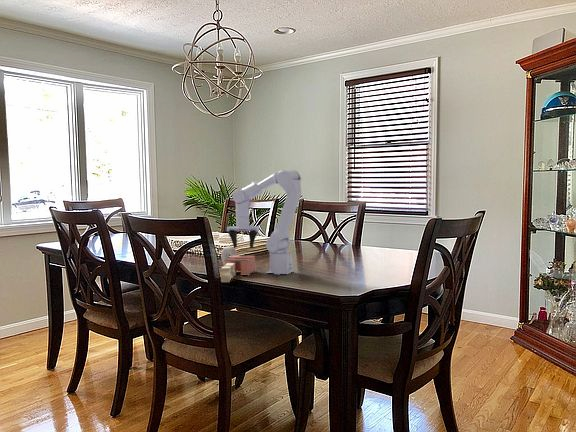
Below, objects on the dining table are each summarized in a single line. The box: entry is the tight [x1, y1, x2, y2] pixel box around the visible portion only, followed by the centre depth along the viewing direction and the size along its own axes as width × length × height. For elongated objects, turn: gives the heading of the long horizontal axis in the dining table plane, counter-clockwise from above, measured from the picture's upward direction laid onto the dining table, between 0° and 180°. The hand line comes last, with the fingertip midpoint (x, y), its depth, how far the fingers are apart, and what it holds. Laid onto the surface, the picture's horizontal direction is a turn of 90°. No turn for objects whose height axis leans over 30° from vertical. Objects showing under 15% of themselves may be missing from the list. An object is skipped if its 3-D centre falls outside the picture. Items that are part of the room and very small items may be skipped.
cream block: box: [220, 263, 236, 283], centre depth 196 cm, size 12×3×6 cm, turn 174°
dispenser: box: [225, 254, 256, 275], centre depth 207 cm, size 10×10×7 cm
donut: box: [220, 245, 238, 266], centre depth 220 cm, size 10×3×10 cm, turn 46°
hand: (243, 247), depth 215 cm, fingers open, 7 cm apart
